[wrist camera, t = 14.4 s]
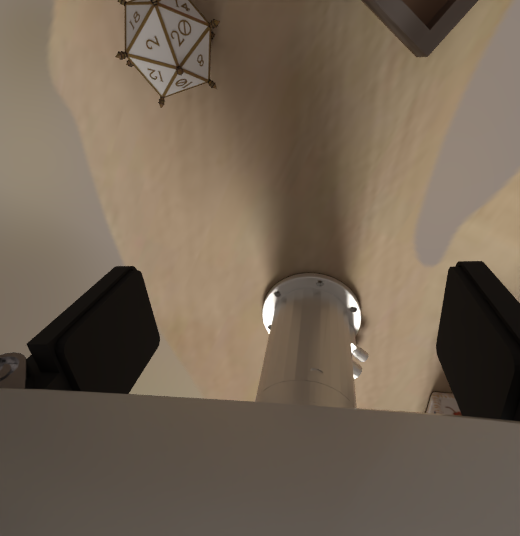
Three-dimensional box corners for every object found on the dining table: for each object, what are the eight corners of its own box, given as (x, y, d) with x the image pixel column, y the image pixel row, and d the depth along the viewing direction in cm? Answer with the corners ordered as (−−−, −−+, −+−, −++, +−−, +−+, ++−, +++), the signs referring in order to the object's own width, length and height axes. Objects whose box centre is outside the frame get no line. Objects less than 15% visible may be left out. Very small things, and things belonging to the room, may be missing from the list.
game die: (192, 24, 35) (165, -87, 25) (245, 87, 34) (239, -1, 24) (120, 76, 34) (63, -16, 24) (172, 141, 34) (135, 74, 24)
